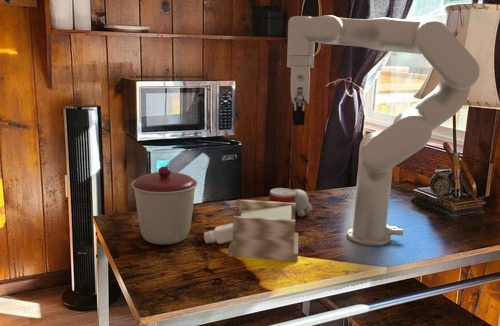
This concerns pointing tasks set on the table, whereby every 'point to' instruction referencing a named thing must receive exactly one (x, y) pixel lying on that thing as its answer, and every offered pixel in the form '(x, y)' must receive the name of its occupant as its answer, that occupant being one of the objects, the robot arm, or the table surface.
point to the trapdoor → (270, 212)
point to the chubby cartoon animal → (301, 203)
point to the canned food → (282, 195)
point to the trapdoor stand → (264, 234)
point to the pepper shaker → (220, 234)
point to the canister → (164, 205)
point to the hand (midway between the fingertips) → (298, 122)
